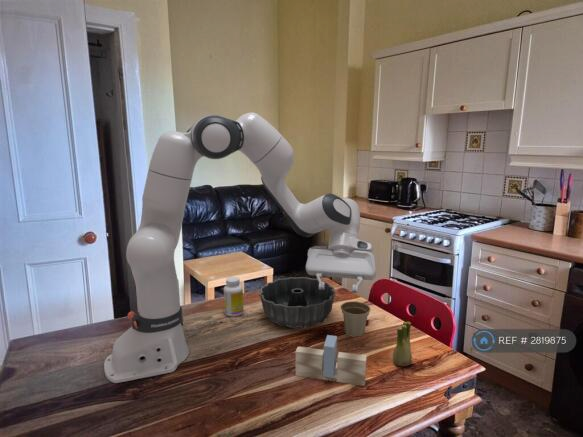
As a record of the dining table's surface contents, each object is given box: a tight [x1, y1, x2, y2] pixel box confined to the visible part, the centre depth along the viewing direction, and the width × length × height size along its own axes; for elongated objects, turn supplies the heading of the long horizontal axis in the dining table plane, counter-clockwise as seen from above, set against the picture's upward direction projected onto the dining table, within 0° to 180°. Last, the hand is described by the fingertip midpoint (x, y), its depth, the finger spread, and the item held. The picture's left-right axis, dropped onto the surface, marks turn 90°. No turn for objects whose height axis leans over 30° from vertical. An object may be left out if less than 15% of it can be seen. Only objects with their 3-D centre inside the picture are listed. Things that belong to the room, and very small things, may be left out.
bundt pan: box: [258, 276, 336, 329], centre depth 132 cm, size 26×26×10 cm
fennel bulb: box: [392, 321, 413, 367], centre depth 104 cm, size 6×5×12 cm
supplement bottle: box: [223, 276, 244, 317], centre depth 134 cm, size 7×7×13 cm
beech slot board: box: [295, 346, 367, 387], centre depth 98 cm, size 18×2×7 cm, turn 76°
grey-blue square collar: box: [323, 334, 338, 378], centre depth 97 cm, size 6×3×8 cm, turn 166°
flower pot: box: [340, 300, 371, 337], centre depth 121 cm, size 9×9×9 cm
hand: (338, 290), depth 106 cm, fingers open, 8 cm apart
